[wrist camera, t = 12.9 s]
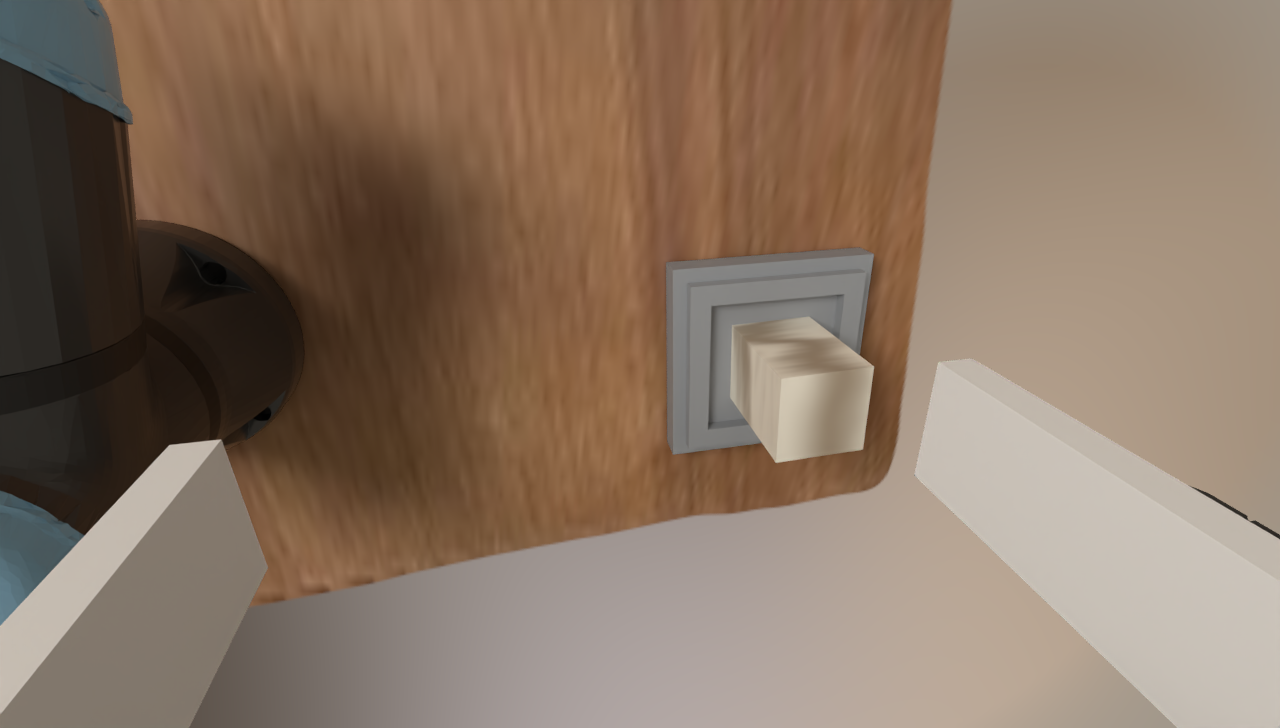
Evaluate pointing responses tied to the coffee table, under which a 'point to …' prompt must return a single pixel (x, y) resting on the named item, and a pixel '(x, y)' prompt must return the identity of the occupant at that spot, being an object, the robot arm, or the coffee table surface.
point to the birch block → (799, 388)
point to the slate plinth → (744, 294)
